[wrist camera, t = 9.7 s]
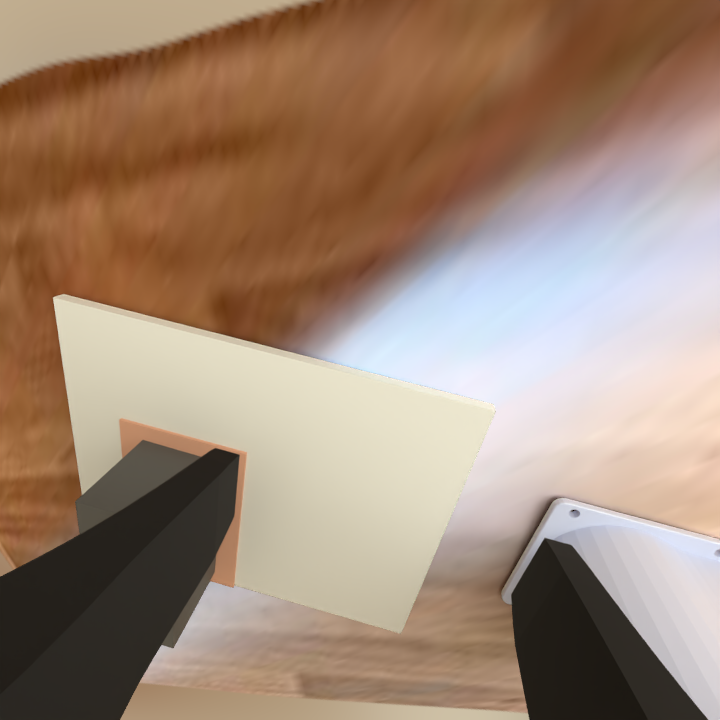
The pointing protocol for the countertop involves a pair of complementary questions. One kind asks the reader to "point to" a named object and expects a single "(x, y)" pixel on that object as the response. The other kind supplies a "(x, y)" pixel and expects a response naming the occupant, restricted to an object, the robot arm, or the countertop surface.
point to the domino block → (130, 483)
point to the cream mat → (281, 453)
